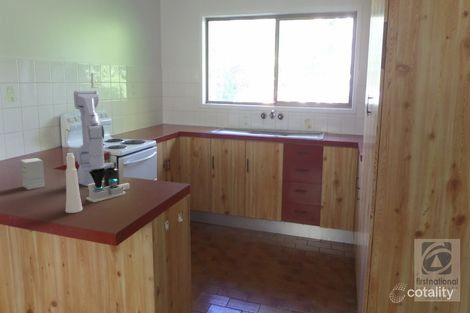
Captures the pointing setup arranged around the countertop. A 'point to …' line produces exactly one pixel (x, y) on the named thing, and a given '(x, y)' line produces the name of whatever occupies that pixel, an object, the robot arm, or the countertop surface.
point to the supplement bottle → (111, 175)
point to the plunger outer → (98, 189)
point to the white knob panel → (106, 192)
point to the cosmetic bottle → (72, 186)
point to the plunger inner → (113, 183)
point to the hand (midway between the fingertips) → (98, 186)
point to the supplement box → (32, 173)
